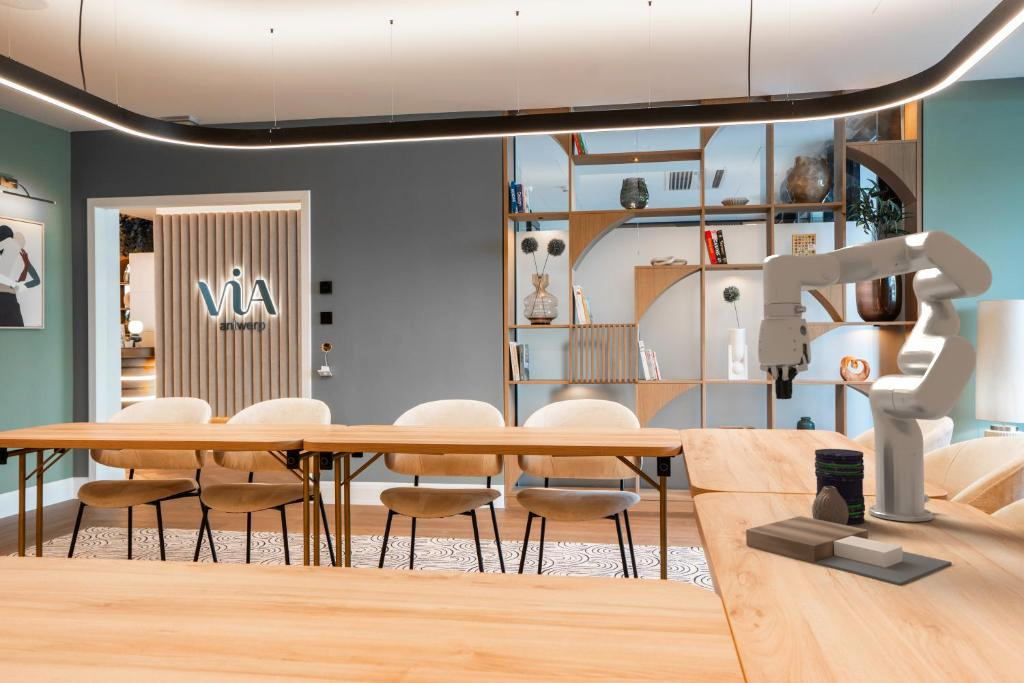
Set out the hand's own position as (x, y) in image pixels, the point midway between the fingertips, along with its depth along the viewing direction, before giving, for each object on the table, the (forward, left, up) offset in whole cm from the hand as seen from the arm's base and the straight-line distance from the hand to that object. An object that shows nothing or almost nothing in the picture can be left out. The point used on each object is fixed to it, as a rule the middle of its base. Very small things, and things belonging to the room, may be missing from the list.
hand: (784, 398), depth 146 cm
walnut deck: (+10, +11, -27) cm, 31 cm away
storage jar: (-14, +4, -27) cm, 31 cm away
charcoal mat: (+10, +25, -27) cm, 38 cm away
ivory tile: (+10, +23, -27) cm, 36 cm away
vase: (-5, +7, -27) cm, 29 cm away
